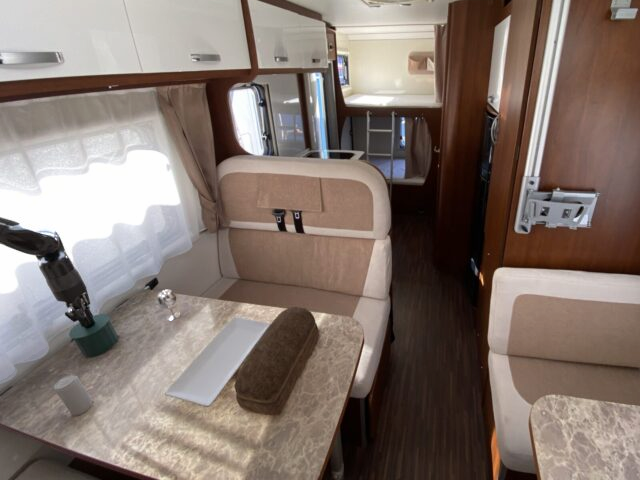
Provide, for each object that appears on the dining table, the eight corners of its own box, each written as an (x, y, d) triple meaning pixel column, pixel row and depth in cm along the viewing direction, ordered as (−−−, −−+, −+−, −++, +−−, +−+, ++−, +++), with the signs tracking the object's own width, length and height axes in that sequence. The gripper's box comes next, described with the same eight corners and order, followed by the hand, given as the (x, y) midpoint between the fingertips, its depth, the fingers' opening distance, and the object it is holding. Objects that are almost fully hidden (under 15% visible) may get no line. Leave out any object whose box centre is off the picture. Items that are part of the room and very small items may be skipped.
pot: (79, 362, 106) (67, 342, 102) (87, 341, 114) (76, 323, 110) (115, 348, 111) (104, 329, 107) (120, 330, 119) (111, 311, 115)
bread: (233, 413, 88) (220, 376, 82) (288, 327, 116) (281, 294, 110) (278, 423, 85) (268, 386, 79) (323, 332, 113) (318, 299, 107)
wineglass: (167, 313, 126) (158, 290, 121) (183, 309, 128) (174, 286, 123) (163, 323, 121) (153, 300, 116) (180, 319, 123) (170, 296, 118)
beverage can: (95, 405, 92) (78, 378, 87) (75, 420, 88) (55, 393, 83) (90, 397, 94) (73, 370, 89) (69, 411, 90) (51, 384, 86)
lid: (65, 345, 102) (55, 329, 99) (76, 324, 111) (66, 308, 108) (107, 331, 107) (98, 315, 104) (113, 311, 116) (105, 296, 113)
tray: (273, 329, 116) (271, 322, 114) (211, 414, 88) (208, 406, 86) (236, 322, 120) (234, 315, 118) (166, 401, 92) (162, 393, 90)
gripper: (58, 276, 105) (80, 313, 112) (42, 300, 94) (67, 340, 100) (86, 268, 108) (106, 305, 115) (74, 291, 97) (96, 330, 104)
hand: (87, 321), depth 108 cm, fingers closed on lid, 3 cm apart
